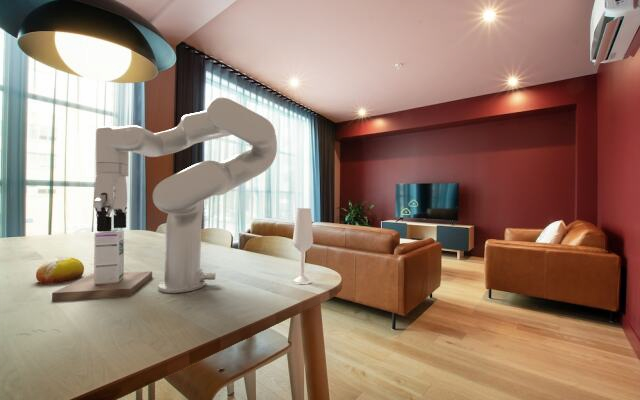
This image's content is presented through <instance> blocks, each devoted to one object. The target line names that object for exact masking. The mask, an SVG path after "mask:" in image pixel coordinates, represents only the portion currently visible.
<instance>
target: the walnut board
mask: <svg viewBox="0 0 640 400" xmlns="http://www.w3.org/2000/svg"><path fill="white" fill-rule="evenodd" d="M152 278H153V271H134V272H133V271H129V272H128V271H127V272H124V277H123V278H122V279H121V280H120V281H119V282H118V283H108V284H94V273H89V274H88V275H86V276H84V277H81V278H79V279H77V280H75V281H74V282H72V283H69V284H67V285H65V286H63V287H61V288H59V289H57V290H55V291H53V292H52V293H51V301H52V302H53V301H54V302H58V301H70V300H71V301H72V300H88V299H89V300H90V299H91V300H92V299H104V298H121V297H122V298H123V297H131V296H133V294H135V292H137V291H138V290H139V289H141V288H142V287H143V286H144V285H145V284H146V283H147V282H149V281H150V280H151V279H152Z"/></svg>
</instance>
